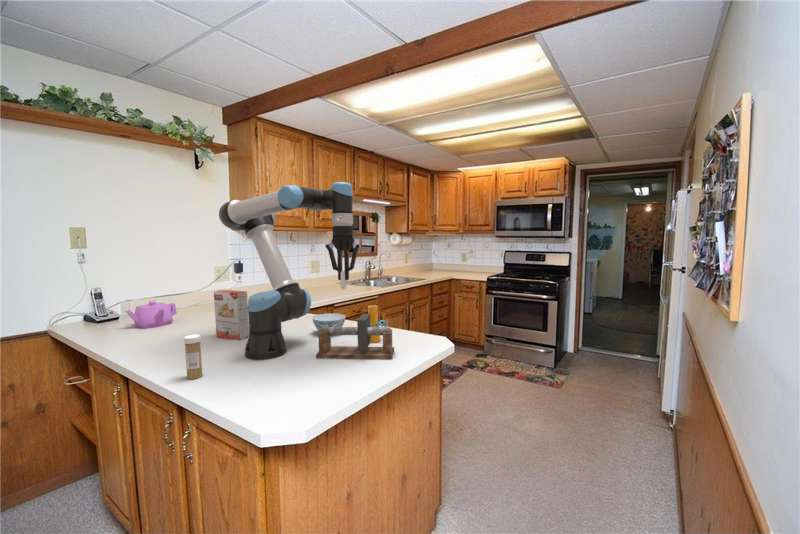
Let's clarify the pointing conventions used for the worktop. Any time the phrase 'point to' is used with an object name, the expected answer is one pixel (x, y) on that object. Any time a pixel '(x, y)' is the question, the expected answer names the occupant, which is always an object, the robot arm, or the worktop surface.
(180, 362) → the worktop surface
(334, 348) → the pipe stand
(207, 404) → the worktop surface
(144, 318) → the teakettle
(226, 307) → the cracker box
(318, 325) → the chinaware
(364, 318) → the collar
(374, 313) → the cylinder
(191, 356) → the sprinkles bottle
